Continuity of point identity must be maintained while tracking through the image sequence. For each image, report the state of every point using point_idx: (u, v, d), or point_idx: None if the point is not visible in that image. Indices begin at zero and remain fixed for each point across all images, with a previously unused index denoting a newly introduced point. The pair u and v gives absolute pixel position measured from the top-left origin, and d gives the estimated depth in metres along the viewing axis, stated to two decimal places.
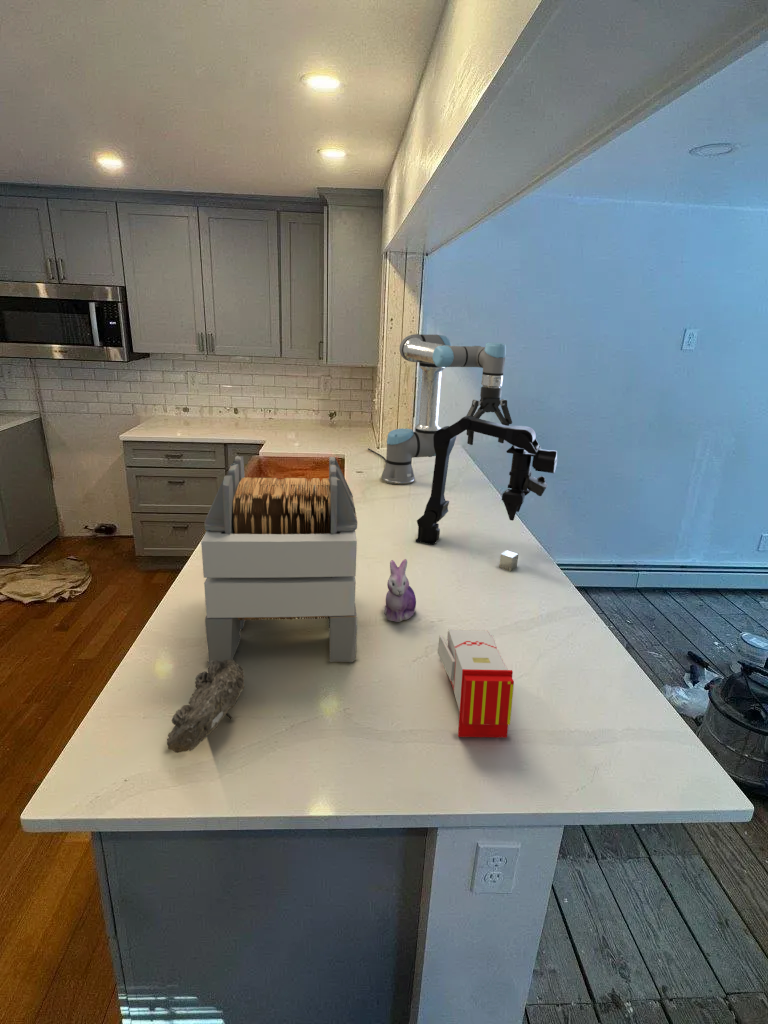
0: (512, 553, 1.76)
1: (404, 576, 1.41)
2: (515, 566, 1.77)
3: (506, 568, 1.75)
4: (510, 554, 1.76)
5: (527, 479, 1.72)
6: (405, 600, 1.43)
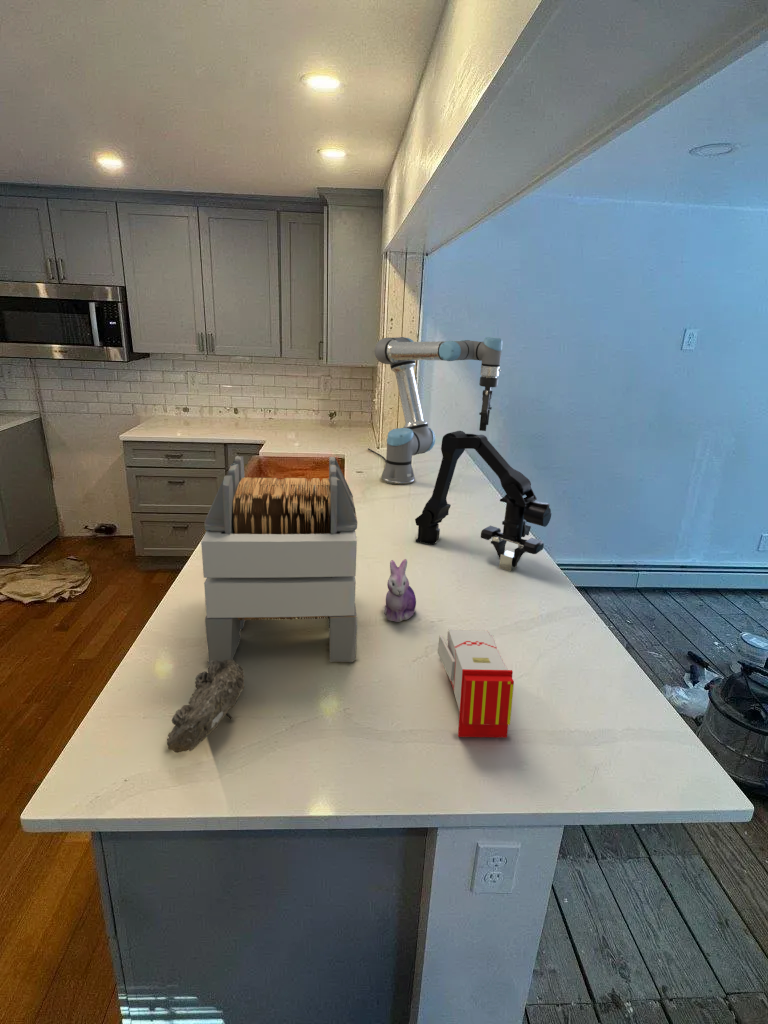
0: (512, 553, 1.76)
1: (404, 576, 1.41)
2: None
3: (506, 568, 1.75)
4: (510, 554, 1.76)
5: (525, 525, 1.73)
6: (405, 600, 1.43)
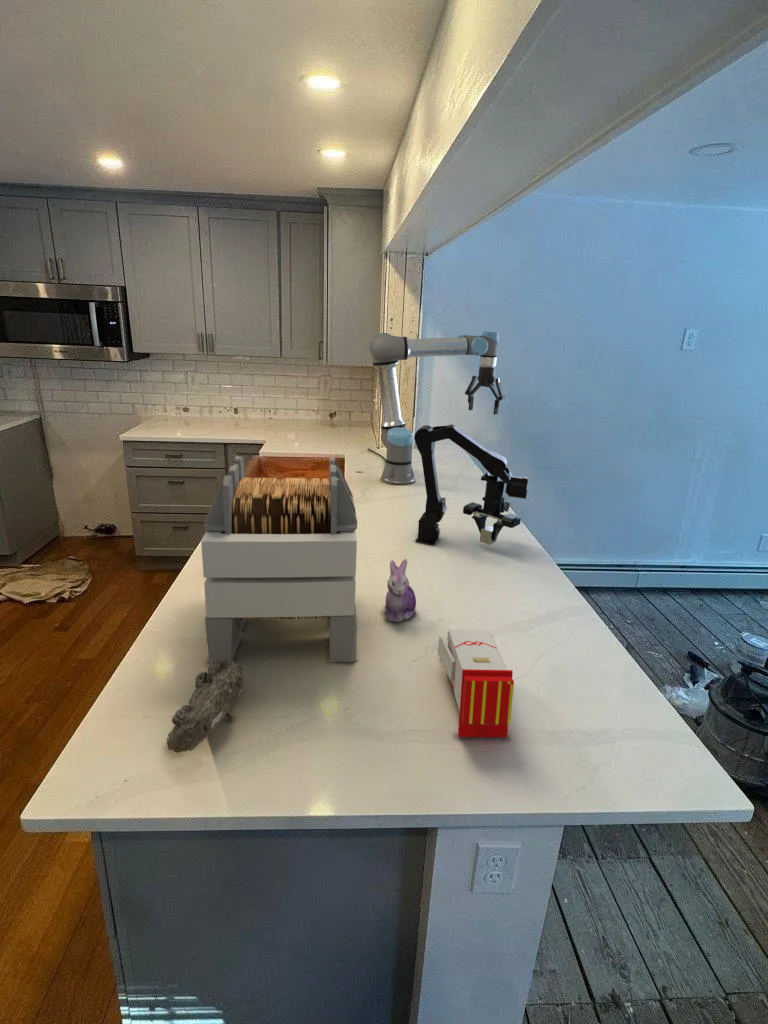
0: (492, 528, 1.88)
1: (404, 576, 1.41)
2: (495, 540, 1.89)
3: (486, 541, 1.87)
4: (490, 528, 1.88)
5: (504, 501, 1.85)
6: (405, 600, 1.43)
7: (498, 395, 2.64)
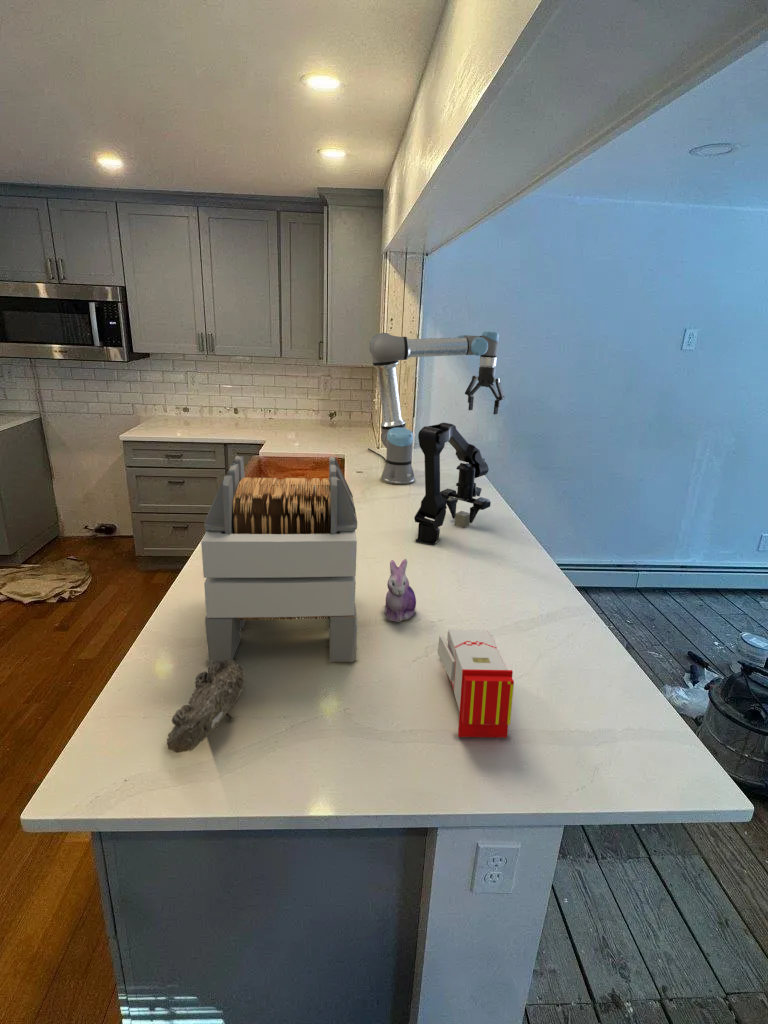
0: (465, 513, 2.10)
1: (404, 576, 1.41)
2: (468, 524, 2.10)
3: (460, 525, 2.09)
4: (464, 513, 2.09)
5: (475, 486, 2.06)
6: (405, 600, 1.43)
7: (498, 395, 2.64)
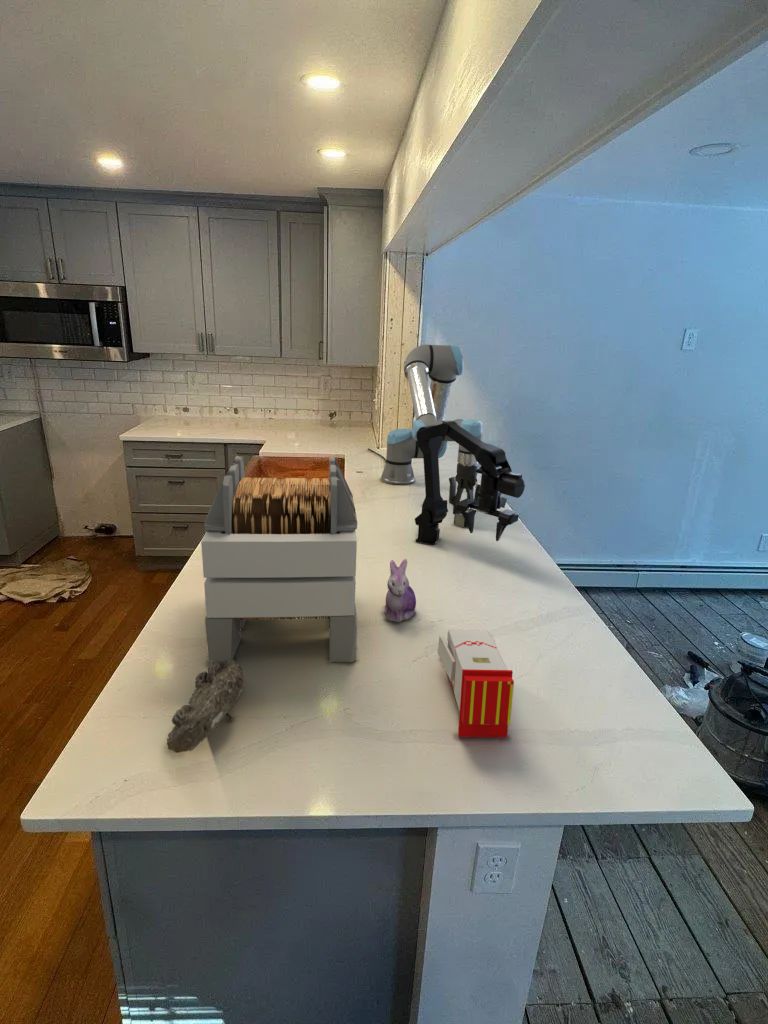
0: None
1: (404, 576, 1.41)
2: None
3: (460, 525, 2.09)
4: None
5: (500, 497, 1.74)
6: (405, 600, 1.43)
7: None
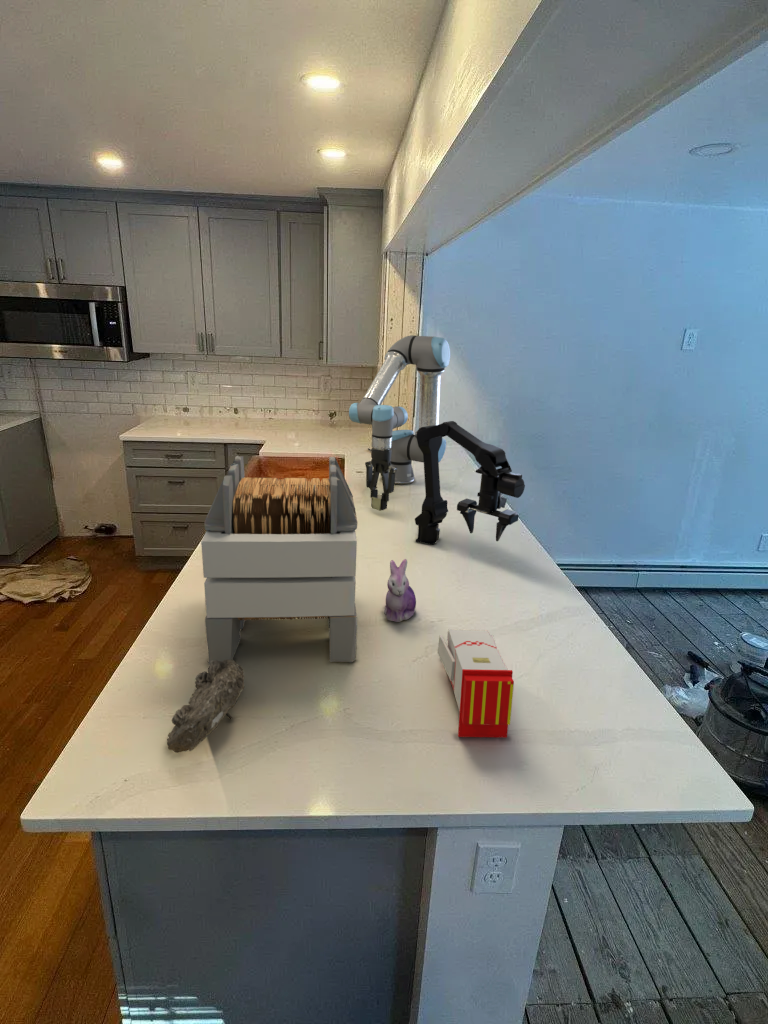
0: None
1: (404, 576, 1.41)
2: None
3: (377, 508, 2.15)
4: (380, 496, 2.15)
5: (500, 497, 1.74)
6: (405, 600, 1.43)
7: (387, 487, 2.12)
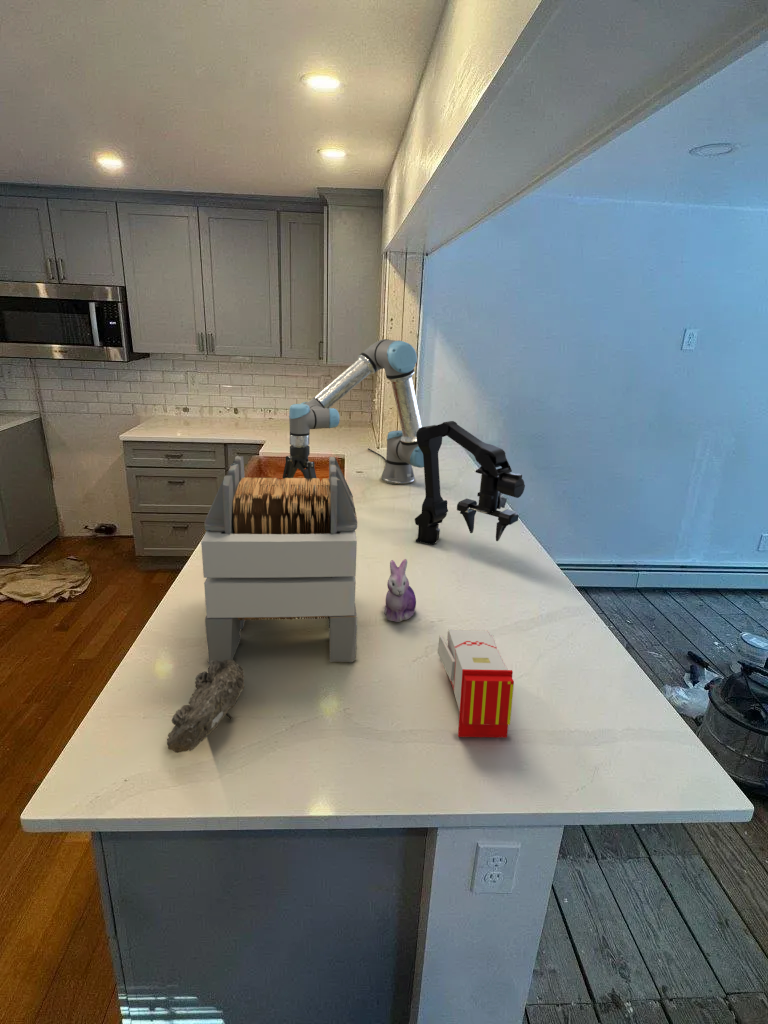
0: None
1: (404, 576, 1.41)
2: None
3: None
4: None
5: (500, 497, 1.74)
6: (405, 600, 1.43)
7: None
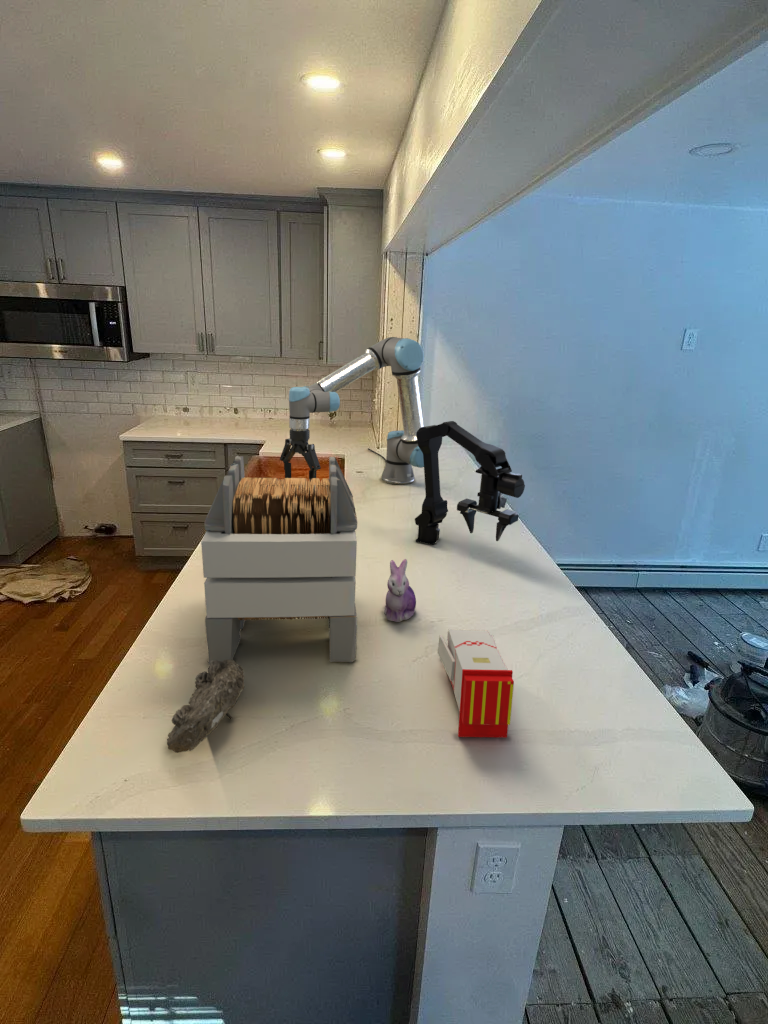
0: None
1: (404, 576, 1.41)
2: None
3: None
4: None
5: (500, 497, 1.74)
6: (405, 600, 1.43)
7: None
